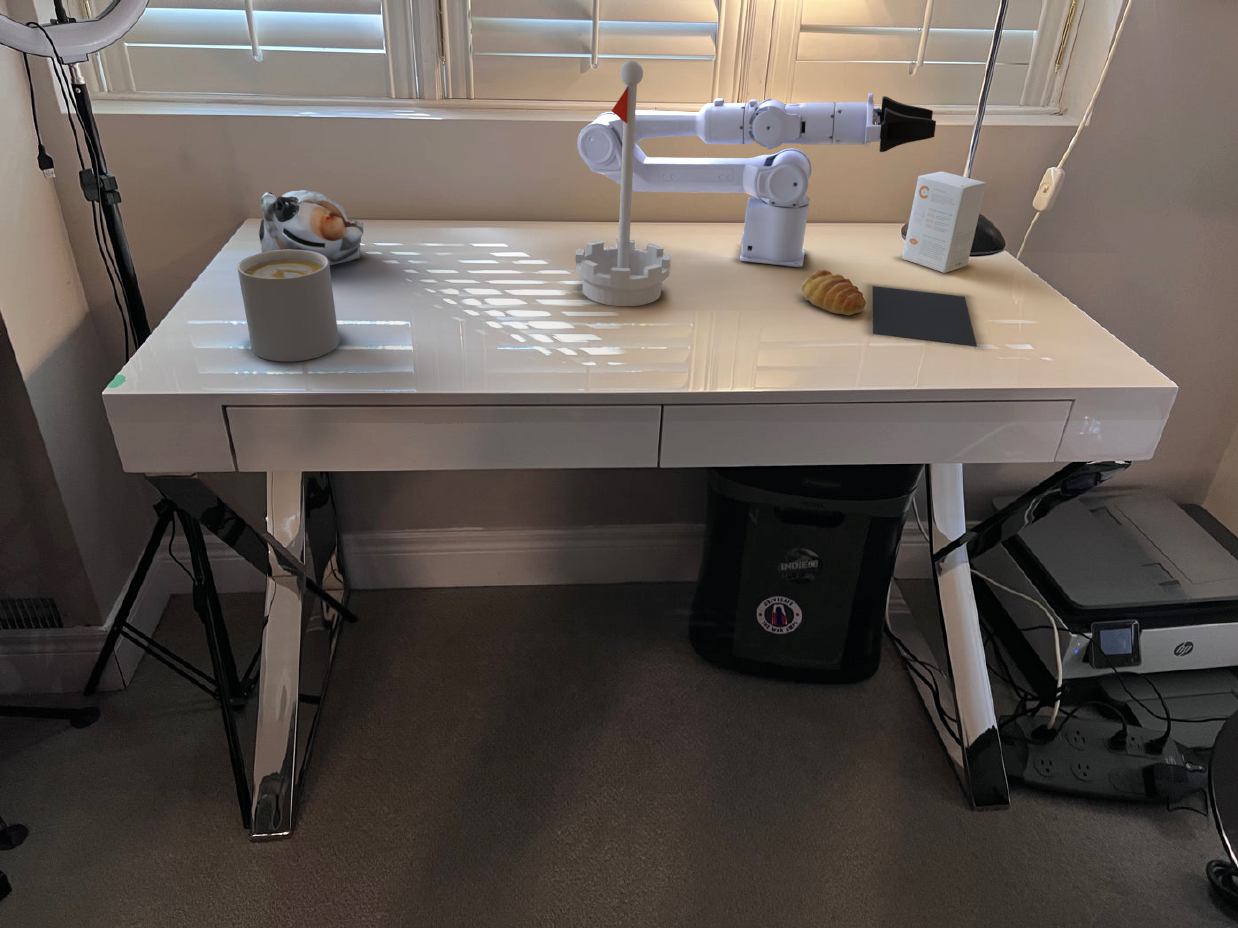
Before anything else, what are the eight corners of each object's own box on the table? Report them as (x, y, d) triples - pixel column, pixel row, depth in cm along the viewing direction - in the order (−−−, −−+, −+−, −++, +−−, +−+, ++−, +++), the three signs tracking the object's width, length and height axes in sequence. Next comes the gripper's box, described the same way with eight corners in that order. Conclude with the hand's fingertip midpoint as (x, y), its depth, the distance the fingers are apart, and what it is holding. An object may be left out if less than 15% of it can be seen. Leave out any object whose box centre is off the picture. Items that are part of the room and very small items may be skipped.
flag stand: (601, 269, 138) (608, 49, 123) (682, 286, 134) (700, 60, 118) (558, 296, 128) (559, 61, 112) (644, 316, 124) (658, 73, 108)
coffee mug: (336, 359, 109) (326, 277, 103) (246, 364, 107) (230, 280, 102) (342, 315, 120) (333, 239, 115) (261, 318, 118) (247, 241, 113)
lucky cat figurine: (374, 249, 141) (381, 179, 130) (347, 305, 134) (351, 237, 123) (276, 216, 139) (274, 142, 128) (243, 271, 132) (238, 198, 121)
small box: (967, 266, 146) (988, 182, 139) (944, 274, 142) (964, 188, 136) (923, 251, 151) (941, 170, 144) (900, 259, 148) (917, 175, 141)
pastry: (876, 313, 128) (881, 286, 126) (839, 322, 125) (844, 295, 123) (830, 290, 134) (834, 265, 132) (793, 298, 131) (797, 272, 129)
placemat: (872, 334, 122) (873, 333, 122) (872, 287, 137) (872, 285, 137) (976, 347, 120) (976, 346, 119) (964, 297, 135) (964, 296, 134)
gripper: (834, 103, 126) (940, 102, 123) (837, 85, 138) (934, 84, 135) (831, 157, 130) (933, 157, 127) (834, 135, 142) (928, 135, 139)
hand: (933, 123), depth 131 cm, fingers open, 7 cm apart
